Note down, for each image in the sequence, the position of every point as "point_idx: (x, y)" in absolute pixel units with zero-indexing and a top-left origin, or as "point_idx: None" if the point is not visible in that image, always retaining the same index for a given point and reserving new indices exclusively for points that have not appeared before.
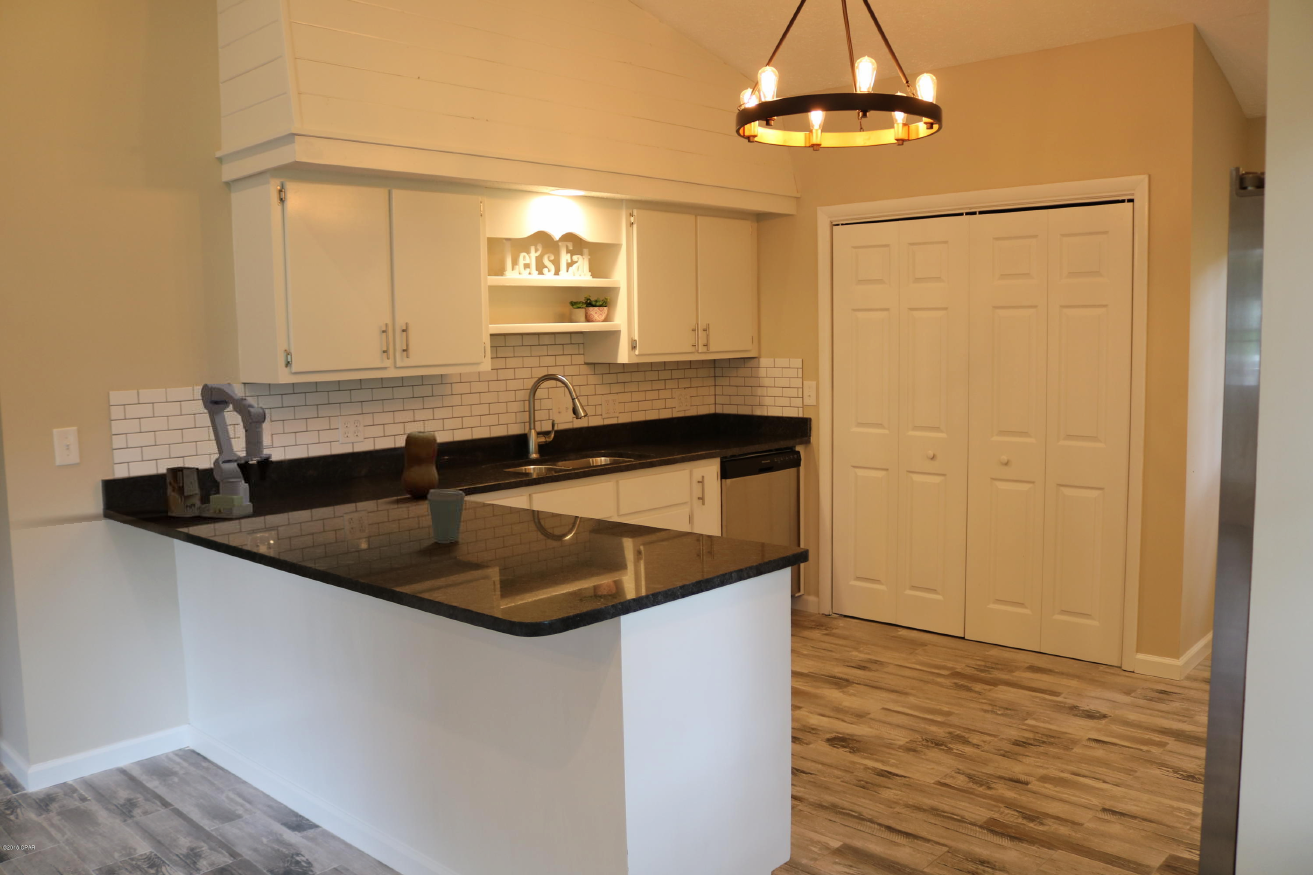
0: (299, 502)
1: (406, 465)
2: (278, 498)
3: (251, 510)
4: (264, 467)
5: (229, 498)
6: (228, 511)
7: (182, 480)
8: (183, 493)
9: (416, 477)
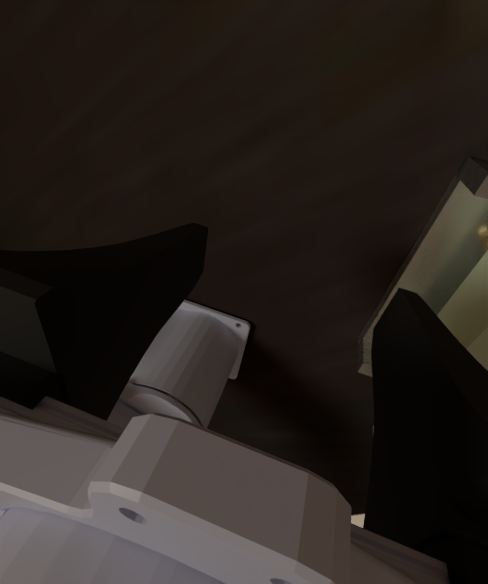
0: (23, 101)
1: None
2: (10, 249)
3: (485, 163)
4: (129, 306)
5: None
6: (446, 293)
7: None
8: None
9: None
